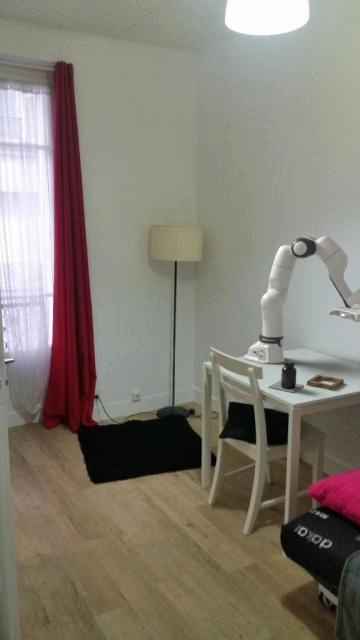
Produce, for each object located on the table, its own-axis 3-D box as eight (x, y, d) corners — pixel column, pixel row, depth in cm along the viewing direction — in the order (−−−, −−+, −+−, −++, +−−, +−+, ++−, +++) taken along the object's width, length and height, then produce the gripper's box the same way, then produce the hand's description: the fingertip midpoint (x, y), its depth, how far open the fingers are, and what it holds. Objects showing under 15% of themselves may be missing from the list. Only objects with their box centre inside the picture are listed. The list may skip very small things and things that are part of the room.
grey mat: (268, 387, 248) (268, 386, 247) (280, 381, 257) (280, 380, 257) (292, 393, 241) (292, 391, 240) (303, 386, 250) (303, 385, 250)
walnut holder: (306, 385, 252) (307, 381, 251) (317, 378, 262) (317, 374, 262) (333, 390, 244) (333, 386, 244) (343, 383, 254) (343, 379, 254)
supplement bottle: (297, 389, 244) (298, 363, 242) (282, 389, 244) (283, 363, 241) (293, 384, 251) (294, 359, 248) (279, 384, 250) (280, 360, 248)
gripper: (344, 303, 269) (322, 305, 264) (374, 309, 251) (351, 311, 245) (344, 315, 270) (322, 317, 265) (373, 322, 252) (350, 325, 247)
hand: (336, 314), depth 255 cm, fingers open, 8 cm apart
